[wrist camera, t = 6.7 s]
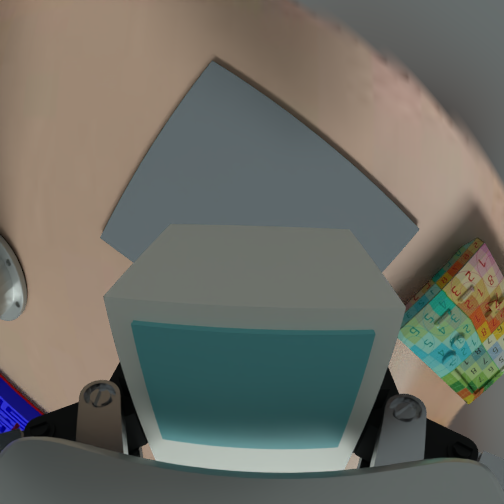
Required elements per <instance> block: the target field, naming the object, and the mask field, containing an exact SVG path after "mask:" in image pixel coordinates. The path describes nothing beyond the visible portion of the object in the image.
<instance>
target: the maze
mask: <svg viewBox="0 0 504 504" xmlns="http://www.w3.org/2000/svg"><path fill="white" fill-rule="evenodd" d="M41 415H44V413H42V412H41V411H40V410H39V409H38V408H36V407H35V406H34V405H33V404H32V403H31V402H30V401H28V400H27V399H26V398H25V397H24V396H23V395H22V394H21V393H20V392H19V391H17V390H16V389H15V388H14V387H13V386H12V385H11V384H10V383H9V382H8V381H7V380H6V379H5V378H4V377H3V376H2V375H1V374H0V434H1V433H4V432H8V431H11V430H14V429H18V428H20V429H21V431H23V430H24V429H25V426H26V425H27V423H28V422H29V421H31V420H32V419H34V418H36V417H38V416H41Z"/></svg>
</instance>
